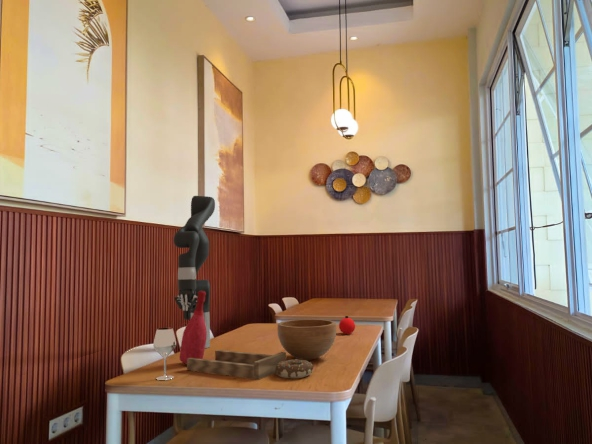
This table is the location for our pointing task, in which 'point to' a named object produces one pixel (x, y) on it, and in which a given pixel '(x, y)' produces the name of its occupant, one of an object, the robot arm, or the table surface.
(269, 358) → the tray
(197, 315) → the wine bottle
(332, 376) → the table surface
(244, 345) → the table surface
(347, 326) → the ornament
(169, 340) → the wineglass
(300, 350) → the bowl
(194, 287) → the robot arm
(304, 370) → the donut
